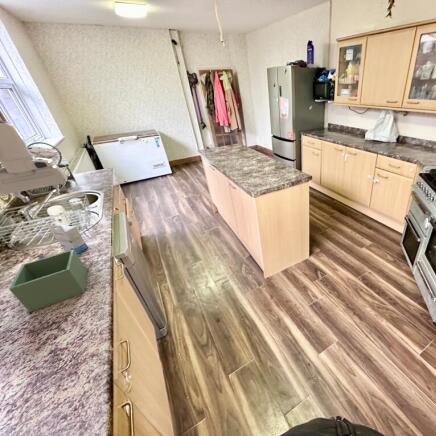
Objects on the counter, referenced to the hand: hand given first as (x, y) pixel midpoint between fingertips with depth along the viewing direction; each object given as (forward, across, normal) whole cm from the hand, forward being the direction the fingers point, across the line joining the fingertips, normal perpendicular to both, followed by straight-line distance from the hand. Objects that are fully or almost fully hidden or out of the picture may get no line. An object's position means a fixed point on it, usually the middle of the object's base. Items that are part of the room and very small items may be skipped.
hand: (42, 198), depth 96 cm
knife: (+27, -11, -6) cm, 29 cm away
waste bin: (+26, -2, -29) cm, 40 cm away
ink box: (+27, 0, 0) cm, 27 cm away
